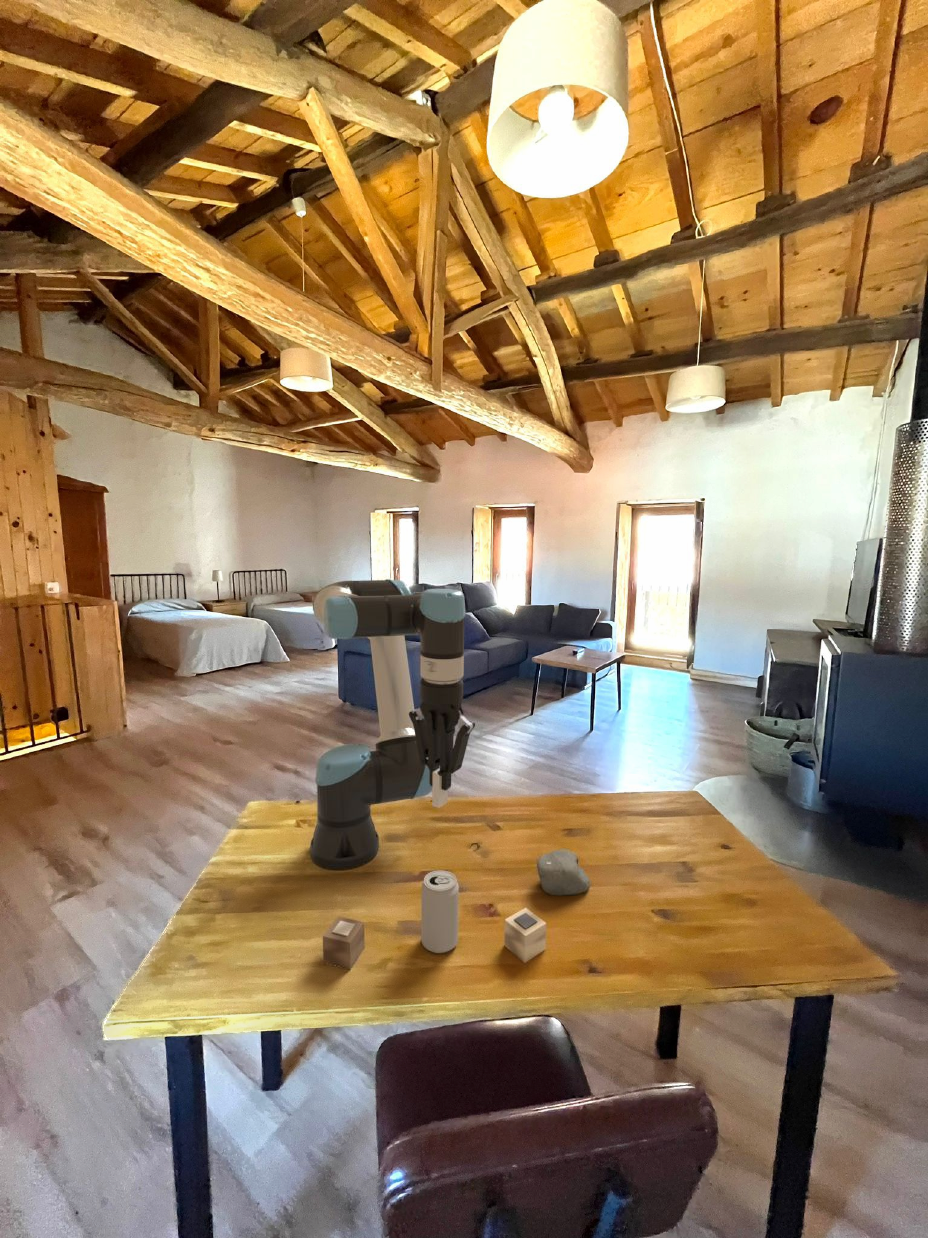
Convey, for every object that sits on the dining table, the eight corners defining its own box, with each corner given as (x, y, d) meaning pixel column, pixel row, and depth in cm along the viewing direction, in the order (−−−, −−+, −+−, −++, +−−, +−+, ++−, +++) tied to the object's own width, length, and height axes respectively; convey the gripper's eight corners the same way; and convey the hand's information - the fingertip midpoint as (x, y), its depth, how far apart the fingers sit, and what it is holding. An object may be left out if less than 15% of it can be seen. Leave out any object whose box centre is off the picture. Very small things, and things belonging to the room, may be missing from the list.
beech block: (504, 946, 94) (505, 918, 93) (525, 933, 97) (525, 906, 96) (524, 963, 90) (525, 935, 89) (545, 949, 93) (546, 922, 92)
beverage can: (421, 930, 97) (421, 869, 95) (456, 929, 98) (457, 867, 96) (421, 957, 91) (421, 892, 89) (459, 955, 91) (460, 890, 90)
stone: (597, 900, 106) (575, 857, 105) (556, 919, 106) (534, 877, 105) (587, 872, 115) (567, 833, 114) (549, 890, 115) (529, 851, 114)
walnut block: (323, 963, 89) (322, 935, 89) (338, 942, 94) (337, 915, 93) (350, 970, 88) (350, 941, 87) (364, 948, 93) (364, 921, 92)
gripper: (398, 676, 94) (398, 802, 98) (461, 690, 87) (458, 824, 91) (424, 667, 101) (423, 786, 105) (484, 679, 94) (481, 805, 98)
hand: (439, 803), depth 98 cm, fingers closed
